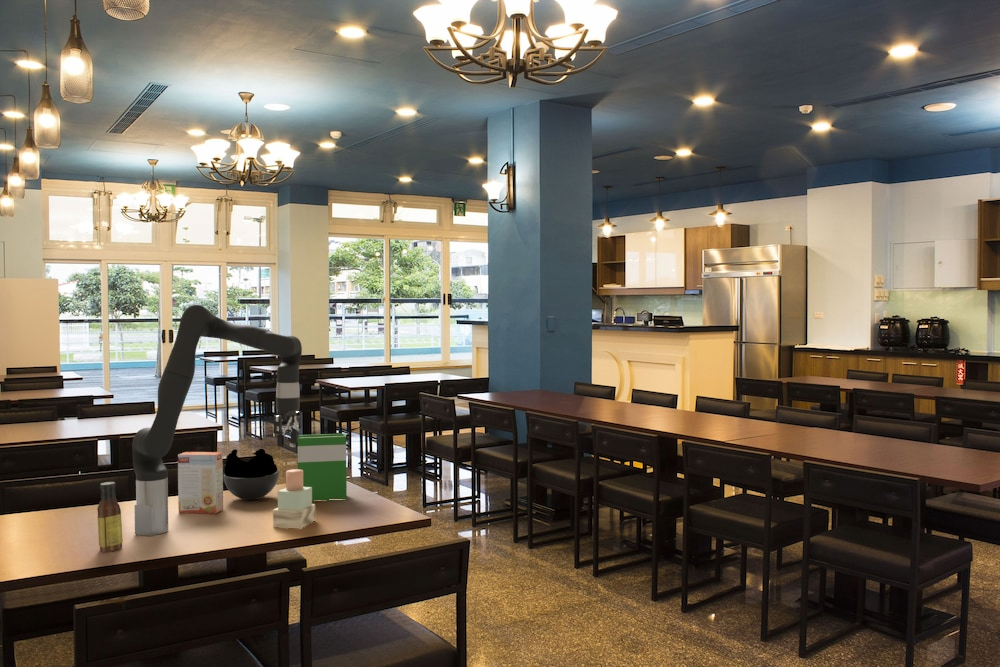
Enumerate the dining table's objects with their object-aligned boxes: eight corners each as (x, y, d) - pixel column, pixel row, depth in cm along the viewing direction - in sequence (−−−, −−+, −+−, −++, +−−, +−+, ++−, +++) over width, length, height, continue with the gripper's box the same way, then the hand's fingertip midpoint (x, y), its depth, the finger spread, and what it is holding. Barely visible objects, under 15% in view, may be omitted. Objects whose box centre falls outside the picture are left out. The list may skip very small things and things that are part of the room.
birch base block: (301, 529, 246) (301, 511, 246) (273, 528, 249) (273, 509, 248) (315, 521, 256) (315, 504, 256) (288, 520, 258) (288, 502, 258)
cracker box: (224, 509, 271) (223, 451, 271) (216, 514, 265) (215, 454, 265) (186, 508, 273) (186, 450, 272) (177, 513, 267) (177, 453, 266)
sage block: (299, 511, 247) (299, 492, 247) (277, 509, 249) (277, 491, 249) (312, 505, 255) (311, 487, 254) (290, 503, 257) (290, 485, 257)
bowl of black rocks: (290, 497, 290) (290, 448, 289) (246, 508, 273) (246, 456, 272) (256, 490, 301) (255, 443, 300) (212, 501, 284) (211, 451, 283)
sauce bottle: (126, 546, 228) (125, 480, 228) (116, 552, 222) (115, 485, 222) (104, 546, 228) (103, 480, 228) (93, 553, 222) (92, 485, 221)
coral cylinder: (298, 491, 249) (298, 473, 248) (283, 490, 250) (282, 472, 250) (306, 487, 254) (306, 469, 254) (291, 486, 255) (291, 468, 255)
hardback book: (298, 502, 282) (297, 438, 281) (298, 498, 289) (298, 435, 288) (346, 500, 285) (346, 436, 285) (346, 495, 293) (345, 433, 292)
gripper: (287, 398, 245) (286, 448, 245) (308, 394, 258) (308, 442, 259) (266, 397, 246) (266, 447, 247) (288, 393, 260) (288, 441, 260)
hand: (287, 444), depth 253 cm, fingers open, 8 cm apart
